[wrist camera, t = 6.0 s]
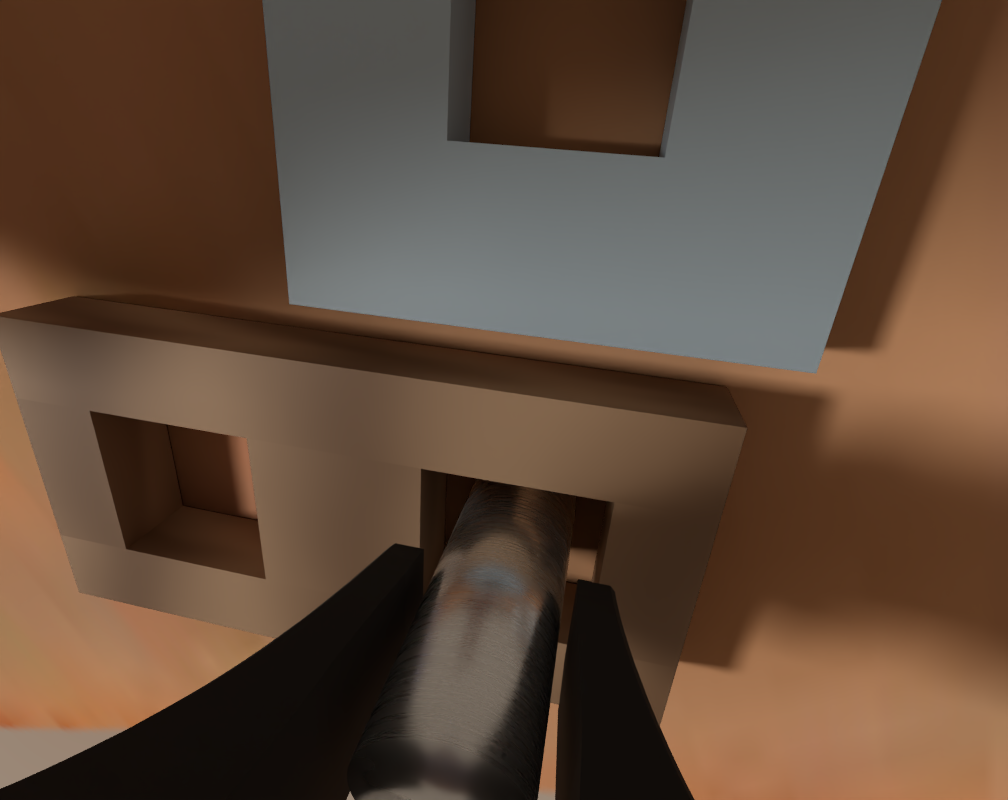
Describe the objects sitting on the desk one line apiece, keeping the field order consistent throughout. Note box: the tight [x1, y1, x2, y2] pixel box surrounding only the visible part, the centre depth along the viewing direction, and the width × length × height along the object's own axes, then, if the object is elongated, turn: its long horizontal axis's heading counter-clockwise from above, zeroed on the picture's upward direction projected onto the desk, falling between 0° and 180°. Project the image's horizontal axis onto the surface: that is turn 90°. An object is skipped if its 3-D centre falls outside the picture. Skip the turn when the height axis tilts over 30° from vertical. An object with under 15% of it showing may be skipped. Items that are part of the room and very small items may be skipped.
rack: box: [0, 296, 747, 726], centre depth 13 cm, size 16×8×2 cm, turn 85°
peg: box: [347, 478, 576, 800], centre depth 10 cm, size 3×3×7 cm
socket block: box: [262, 0, 942, 373], centre depth 9 cm, size 10×10×2 cm
